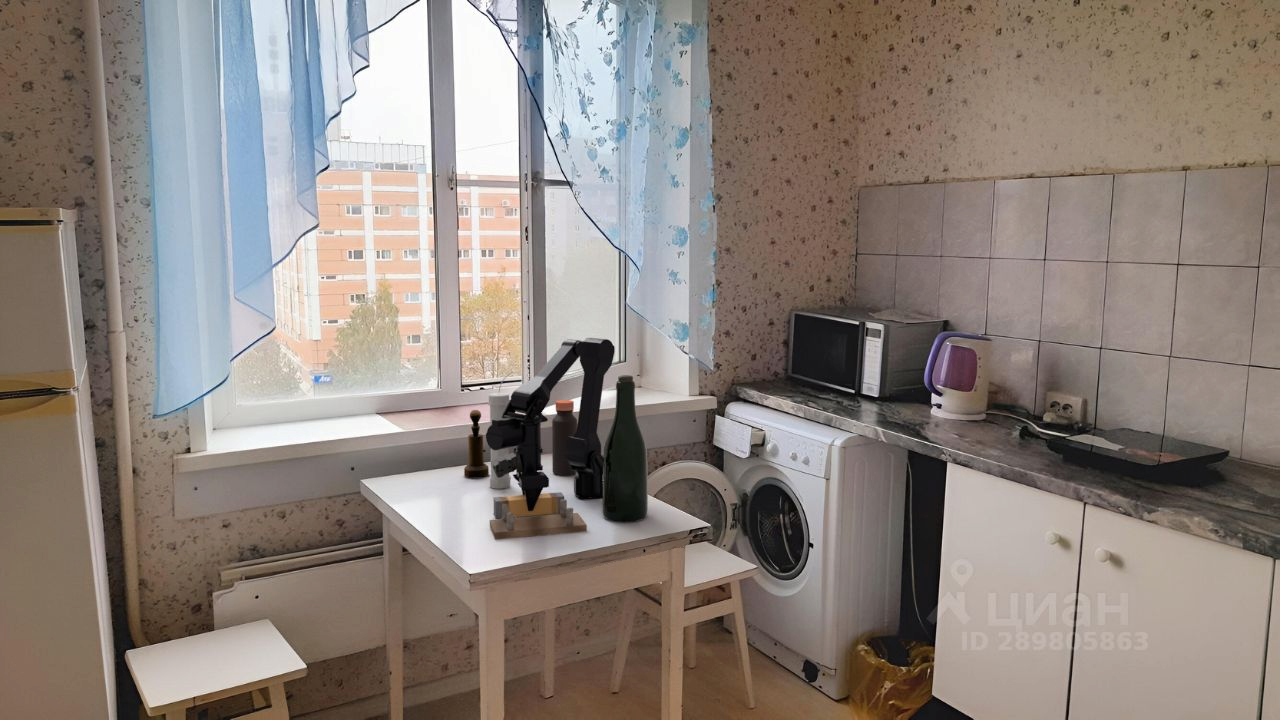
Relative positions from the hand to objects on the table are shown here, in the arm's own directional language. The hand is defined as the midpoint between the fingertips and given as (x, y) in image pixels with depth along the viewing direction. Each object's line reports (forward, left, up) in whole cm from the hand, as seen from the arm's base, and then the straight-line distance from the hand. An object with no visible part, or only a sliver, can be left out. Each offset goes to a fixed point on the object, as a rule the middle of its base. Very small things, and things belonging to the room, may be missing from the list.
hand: (529, 508), depth 206 cm
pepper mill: (+8, -38, -2) cm, 39 cm away
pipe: (+3, -25, -2) cm, 25 cm away
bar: (0, 0, -1) cm, 1 cm away
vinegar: (-16, -34, -2) cm, 37 cm away
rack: (0, +12, -1) cm, 12 cm away
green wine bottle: (-21, +8, -2) cm, 23 cm away
